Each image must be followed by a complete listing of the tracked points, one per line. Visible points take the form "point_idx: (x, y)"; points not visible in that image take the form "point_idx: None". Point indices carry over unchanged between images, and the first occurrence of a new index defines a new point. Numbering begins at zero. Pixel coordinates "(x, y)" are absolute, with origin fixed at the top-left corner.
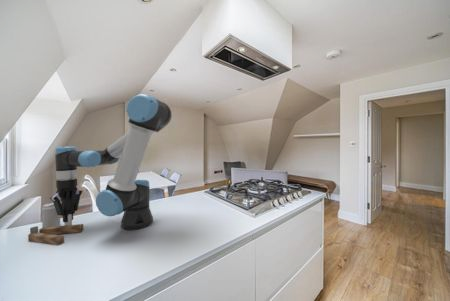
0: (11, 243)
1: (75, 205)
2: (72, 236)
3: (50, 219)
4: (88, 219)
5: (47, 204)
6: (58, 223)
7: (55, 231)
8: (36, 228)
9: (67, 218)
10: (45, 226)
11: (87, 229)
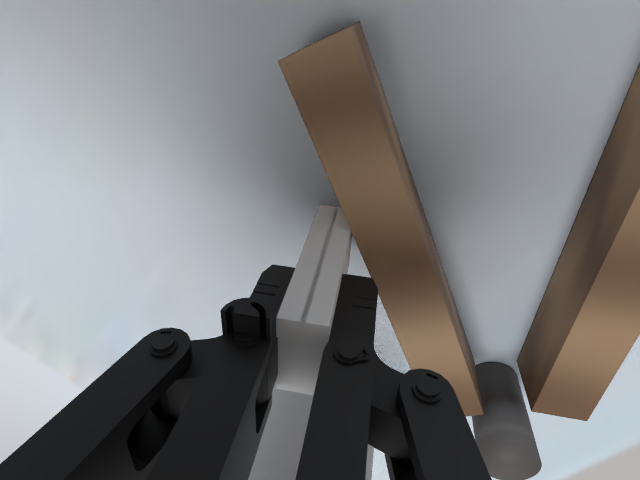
0: (587, 438)
1: (117, 437)
2: (480, 28)
3: None
4: (81, 246)
5: None
6: None
7: (444, 282)
8: (513, 439)
9: (340, 305)
10: None
11: (266, 14)
